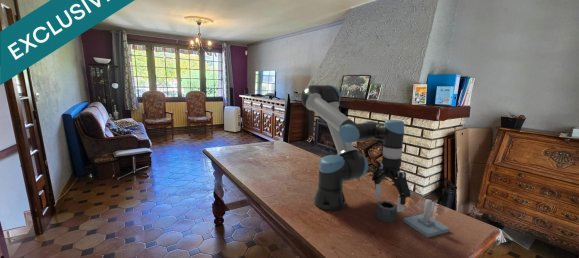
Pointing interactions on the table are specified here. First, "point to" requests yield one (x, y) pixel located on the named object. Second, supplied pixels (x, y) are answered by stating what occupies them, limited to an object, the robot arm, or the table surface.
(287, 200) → the table surface
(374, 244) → the table surface
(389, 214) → the hub
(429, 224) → the shaft block
